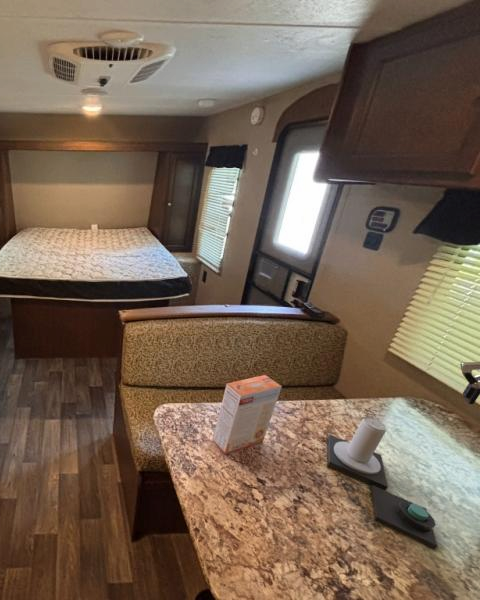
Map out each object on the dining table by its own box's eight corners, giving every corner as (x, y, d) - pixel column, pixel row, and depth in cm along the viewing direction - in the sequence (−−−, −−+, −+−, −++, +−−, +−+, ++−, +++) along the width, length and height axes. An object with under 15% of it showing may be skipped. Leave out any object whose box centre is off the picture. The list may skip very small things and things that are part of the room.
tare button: (423, 513, 73) (426, 508, 72) (426, 524, 70) (430, 519, 70) (406, 505, 74) (409, 501, 74) (408, 515, 72) (411, 511, 71)
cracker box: (247, 428, 98) (265, 373, 90) (263, 443, 93) (284, 386, 84) (210, 438, 94) (226, 381, 85) (224, 455, 88) (242, 396, 80)
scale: (378, 459, 89) (382, 452, 88) (384, 492, 80) (389, 484, 79) (326, 439, 95) (329, 432, 94) (326, 466, 86) (330, 459, 85)
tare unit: (423, 512, 76) (429, 504, 74) (434, 549, 68) (441, 541, 67) (369, 488, 81) (374, 480, 80) (374, 520, 73) (379, 512, 72)
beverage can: (347, 446, 90) (364, 413, 85) (369, 456, 86) (388, 423, 82) (344, 455, 86) (362, 422, 82) (367, 467, 83) (386, 433, 78)
